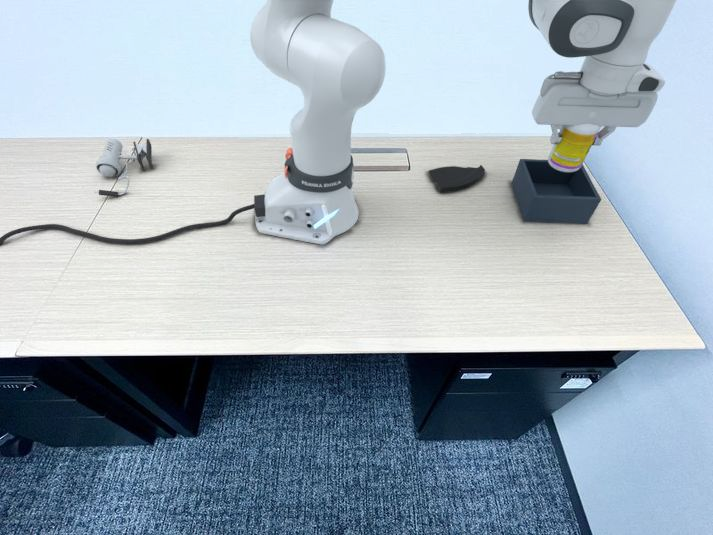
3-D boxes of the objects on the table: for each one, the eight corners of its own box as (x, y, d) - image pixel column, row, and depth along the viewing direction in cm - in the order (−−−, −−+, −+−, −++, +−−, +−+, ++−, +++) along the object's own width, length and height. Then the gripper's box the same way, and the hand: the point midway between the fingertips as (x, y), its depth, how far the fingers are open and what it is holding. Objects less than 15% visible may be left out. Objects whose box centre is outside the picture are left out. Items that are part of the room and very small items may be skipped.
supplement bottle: (581, 176, 81) (612, 117, 71) (547, 171, 82) (573, 112, 72) (578, 157, 85) (607, 99, 76) (546, 153, 86) (570, 95, 77)
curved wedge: (492, 186, 95) (494, 180, 94) (438, 194, 93) (439, 188, 92) (477, 165, 100) (479, 160, 99) (426, 172, 98) (427, 167, 97)
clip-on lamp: (146, 205, 94) (157, 149, 103) (137, 188, 89) (149, 130, 97) (92, 205, 93) (108, 147, 101) (79, 187, 87) (97, 128, 95)
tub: (523, 221, 87) (534, 197, 82) (511, 183, 96) (520, 158, 90) (586, 224, 86) (601, 199, 81) (568, 185, 95) (580, 160, 90)
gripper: (552, 79, 67) (525, 150, 78) (675, 82, 67) (632, 154, 77) (542, 63, 71) (518, 133, 82) (659, 66, 71) (619, 136, 81)
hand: (574, 143), depth 80 cm, fingers closed on supplement bottle, 6 cm apart
